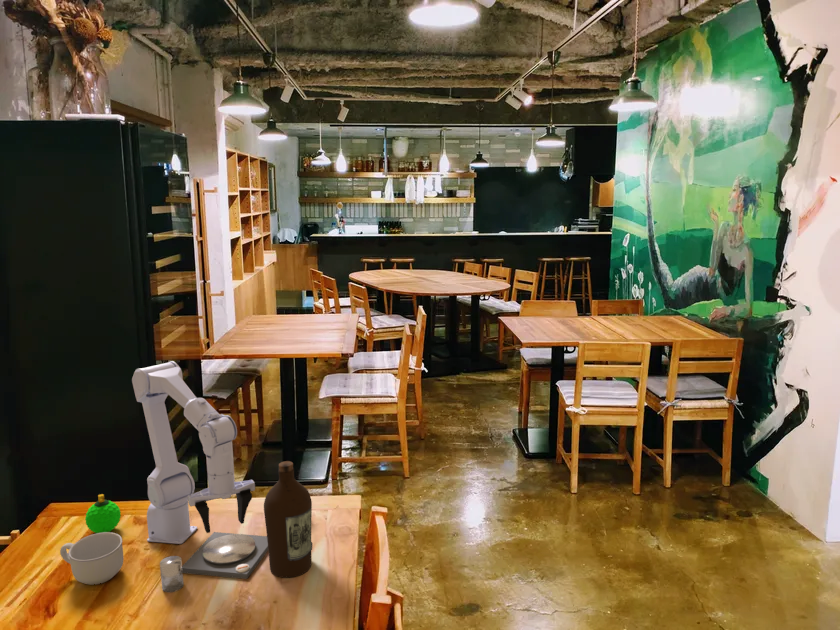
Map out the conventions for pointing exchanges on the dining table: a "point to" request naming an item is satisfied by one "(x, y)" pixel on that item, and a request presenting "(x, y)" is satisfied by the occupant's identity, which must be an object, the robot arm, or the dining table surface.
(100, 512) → the ornament
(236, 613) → the dining table surface
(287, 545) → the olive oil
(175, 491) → the robot arm
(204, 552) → the scale pan
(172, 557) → the cylinder
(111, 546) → the teacup
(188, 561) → the scale base
